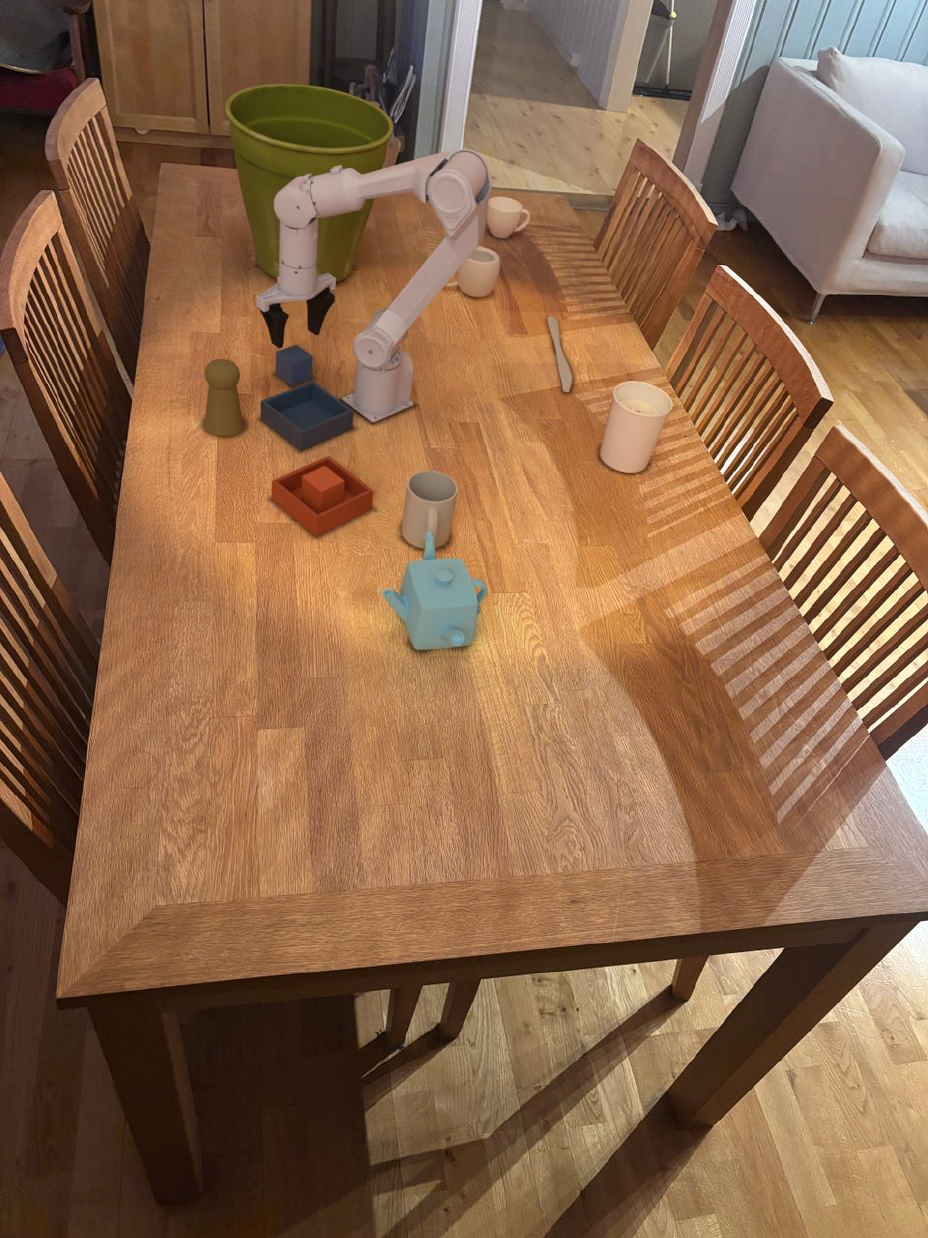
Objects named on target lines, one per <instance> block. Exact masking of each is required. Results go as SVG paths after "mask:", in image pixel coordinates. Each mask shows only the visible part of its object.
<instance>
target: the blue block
mask: <svg viewBox="0 0 928 1238" xmlns="http://www.w3.org/2000/svg"><path fill="white" fill-rule="evenodd" d="M313 364H314V356H313V355H312V354H311V353H310V352H308V351H307V350H305V349H303V347H301V346H300V345H298V344H294V345H291V346H288V347H285V348H283V349H282V348H281V349H279V350H276V351H275V375H276V376H277V377H279V378H280V379H281V380H283V382H285V383H287V384H288V385H289V386H290V387H295V386H297V385H299V384H301V383H304V382H307V381H310V380H312V379H313Z"/></svg>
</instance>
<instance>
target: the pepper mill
mask: <svg viewBox="0 0 928 1238" xmlns="http://www.w3.org/2000/svg"><path fill="white" fill-rule="evenodd" d="M240 372H241V371H240V368H239V366H238V365H237V364H236V363H235V362H234V361H232V360H229V359H225V358H217V359H213V360H211V361H209V362H208V363H207V365H206V366H205V368H204V378H205V381H206V383H207V384H208V388H207V397H206V404H205V405H206V406H205V414H204V415H205V416H204V423H203V425H204V429H206V431H207V432H208V433H210V434H212V435H215V436H218V437H231V436H235V435H237V434H239V433H241V432H242V431H243V429H244V421H243V415H242V410H241V409H242V408H241V403H240V397H239V391H238V384H239V382H240V378H241V373H240Z"/></svg>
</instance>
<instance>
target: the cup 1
mask: <svg viewBox="0 0 928 1238" xmlns="http://www.w3.org/2000/svg"><path fill="white" fill-rule="evenodd" d="M405 489H406V490H405V497H404V502H403V503H404V504H403V511H402V519H401V526H400V527H401V528H400V531H401V535H402V536H403V538H404V540H405V541H406V542H407V543H408V544H409V545H411V546H413V547H415V548H418V549H422V550H425V533H426V532H430V533H431V534H432V536H433V538H434V544H435V549H438V548H439V547H442V546H443V545H445V544H446V543H447V542H448V540H449V538H450V535H451V531H452V526H453V525H452V524H453V520H454V519H453V518H454V513H455V508H456V503H457V499H458V498H457V496H458V490H459V487H458V484H457V482H456V481H455V479H453V478H452V477H451V476H449V475H448V474H446V473H443V472H441V471H437V470H429V469H428V470H426V469H425V470H420V471H417V472H414V473H412V474H411V475H410V476H409V477H408V479H407V482H406V488H405Z"/></svg>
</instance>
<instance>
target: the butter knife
mask: <svg viewBox="0 0 928 1238" xmlns="http://www.w3.org/2000/svg"><path fill="white" fill-rule="evenodd" d="M547 325H548V329H549V332H550V334H551V335H550V336H551V338H552V342H553V345H554V349H555V355H556V361H557V367H558V373H559V377H560V381H561V387H562V392H565V393H570V390H571V387H572V382H573V375H572V371H571V368H570V365H569V363H568V361H567V359H566V357H565V355H564V352H563V350H562V347H561V341H560V326H559V325H560V324H559V321H558V319H557V318H556V316H554V315H549V316H547Z"/></svg>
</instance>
